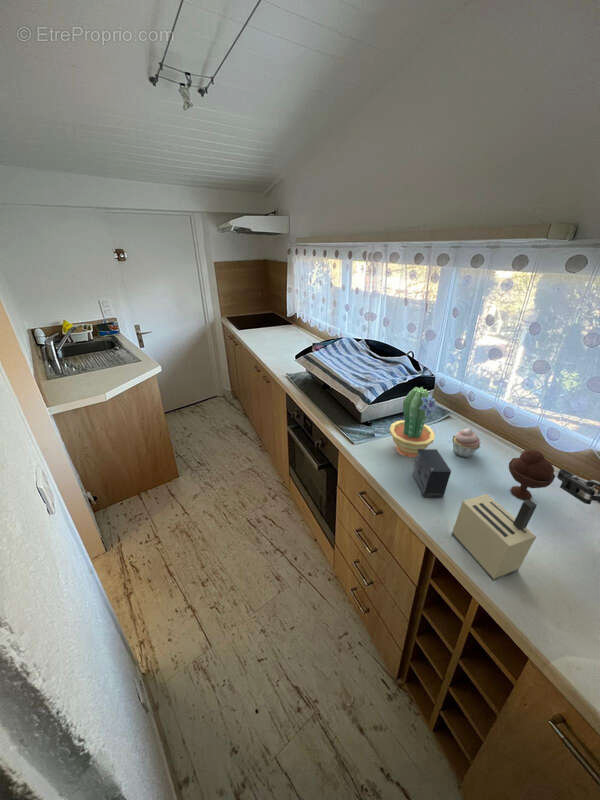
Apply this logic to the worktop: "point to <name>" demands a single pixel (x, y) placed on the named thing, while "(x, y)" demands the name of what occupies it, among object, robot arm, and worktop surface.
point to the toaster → (491, 536)
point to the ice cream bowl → (530, 473)
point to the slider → (524, 514)
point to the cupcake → (465, 443)
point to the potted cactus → (414, 423)
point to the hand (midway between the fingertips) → (583, 477)
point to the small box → (431, 473)
